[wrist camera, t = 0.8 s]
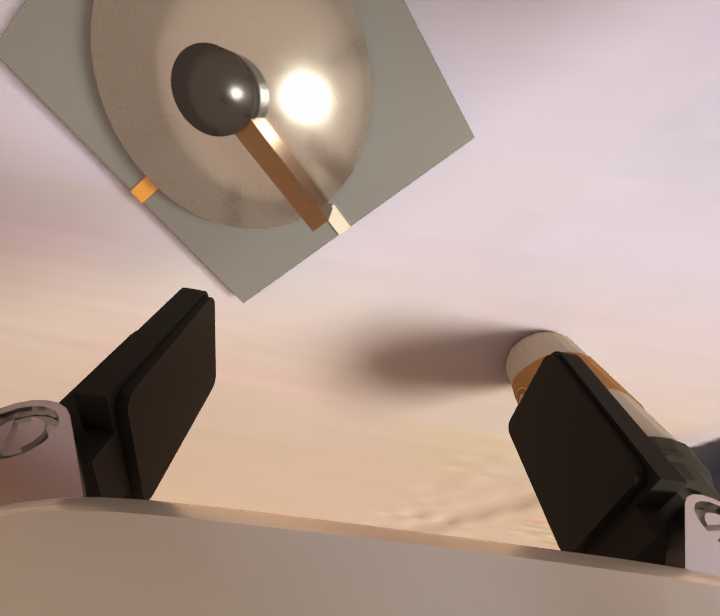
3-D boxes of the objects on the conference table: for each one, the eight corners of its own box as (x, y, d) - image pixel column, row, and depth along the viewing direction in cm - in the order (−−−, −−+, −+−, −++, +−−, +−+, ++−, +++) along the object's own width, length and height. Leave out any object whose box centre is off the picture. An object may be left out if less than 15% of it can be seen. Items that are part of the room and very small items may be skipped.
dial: (49, 60, 21) (-28, 49, 17) (240, -189, 16) (197, -289, 12) (246, 270, 27) (225, 298, 23) (425, 135, 23) (438, 140, 19)
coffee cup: (490, 329, 32) (575, 483, 19) (589, 311, 31) (753, 461, 18) (494, 397, 36) (568, 564, 23) (582, 384, 35) (712, 551, 21)
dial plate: (252, -279, 16) (240, -318, 15) (469, 136, 24) (475, 137, 23) (14, 53, 22) (-12, 49, 21) (248, 294, 31) (242, 304, 29)
